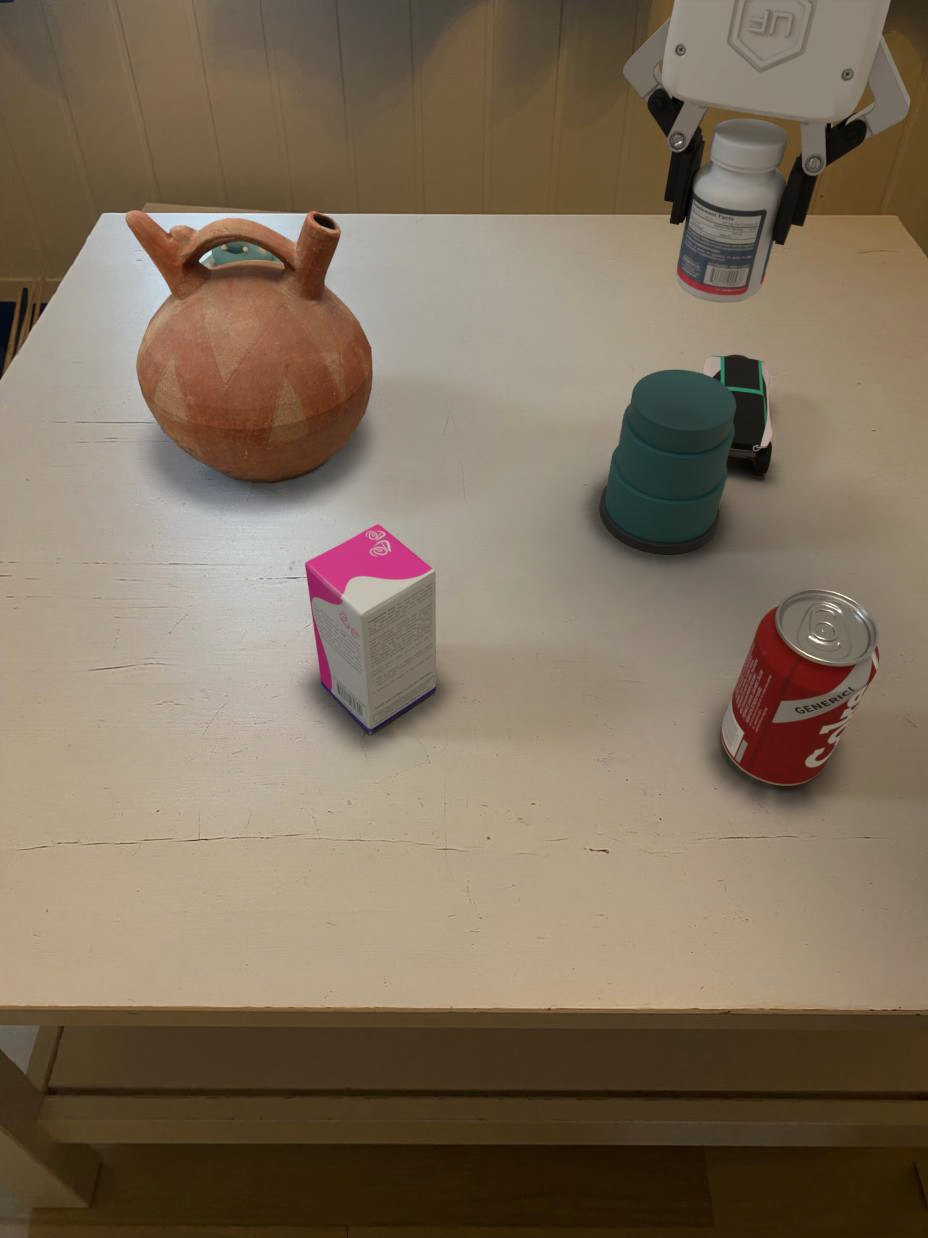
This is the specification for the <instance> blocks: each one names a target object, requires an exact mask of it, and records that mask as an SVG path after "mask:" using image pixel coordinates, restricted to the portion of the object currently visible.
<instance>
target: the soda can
mask: <svg viewBox="0 0 928 1238" xmlns="http://www.w3.org/2000/svg"><path fill="white" fill-rule="evenodd" d="M879 637H880V635H879V628H878V625H877V623H876V621H875V619H874V617H873V616H872V614H870V612H869V611H868V610H867V609H866V608H865V607H864V606H863V605H862V604H860V603H859V602H858V601H856V600H854V599H853V598H852V597H849V596H847V595H845V594H843V593H840V592H837V591H834V590H830V589H827V588H826V589H824V588H804V589H800V590H796V591H794V592H792V593H789V594H787V595H786V596H785V597H784V598H783V599H782V600H781V601H780V603H779V604H778V605H777V606H775V607H774V608H772V609H770V610H769V611H768V612H767V613H766V614H765V615H764V616H763V617H762V619H760V621H759V624H758V625H757V628H756V632H755V634H754V637H753V639H752V642H751V643H750V647H749V650H748V652H747V655H746V658H745V661H744V663H743V665H742V669H741V672H740V674H739V677H738V679H737V682H736V685H735V687H734V690H733V693H732V695H731V697H730V700H729V703H728V706H727V708H726V711H725V714H724V716H723V719H722V721H721V726H720V738H721V742H722V745H723V748H724V750H725V752H726V754H727V755H728V757H729V759H730V760H731V762H733V764H734V765H736V767H737V768H738V769H740V770H741V771H742V772H743V773H745V774H746V775H748V776H750V777H751V778H754V779H755V780H758V781H761V782H763V783H765V784H769V785H774V786H781V787H789V786H791V787H792V786H798V785H803V784H805V783H808V782H810V781H812V780H813V779H815V778H816V777H818V775H820V774H821V773H822V771H823V770H824V769H825V768H826V765H827V763H828V761H829V760H830V758H831V756H832V754H833V753H834V751H835V749H836V747H837V745H838V743H839V741H840V739H841V738H842V736H843V734H844V732H845V730H846V729H847V726H848V725H849V723H850V721H851V720H852V718H853V717H854V715H855V712H856V711H857V708H858V707H859V705H860V704H861V701H862V699H863V698H864V696H865V694H866V692H867V691H868V689H869V687H870V685H871V683H872V681H873V679H874V677H875V676H876V674H877V672H878V668H879V666H880V651H879V648H878V647H879V646H878V643H879Z"/></svg>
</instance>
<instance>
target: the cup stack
mask: <svg viewBox="0 0 928 1238" xmlns="http://www.w3.org/2000/svg"><path fill="white" fill-rule="evenodd" d="M702 373H703V372H698V371H694V370H689V369H676V368H675V369H666V370H665V369H663V370H659V371H655V372H651V373H649V374H647V375H645V376H643V377H641V378H640V379H639V380H638V381H637V382H636V384H635V385H634V387H633V389H632V392H631V397H630V403H629V404H628V405H627V407H626V408H625V409H624V412H623V415H622V421H621V427H620V433H619V440H618V445H617V446H616V447H615V449H614V450H613V452H612V454H611V459H610V465H609V469H608V470H609V471H608V476H607V483H606V485H605V487H604V489H603V490H602V493H601V496H600V503H599V514H600V518H601V520H602V523H603V524H604V526H605V527H606V529H607V530H608V531H609V533H610V534H612V535H613V536H614V537H615V539H618V540H619V541H620V542H622V543H623V544H626V545H627V546H629V547H632V548H633V549H636V550H639V551H643V552H647V553H651V554H658V555H675V554H683V553H687V552H690V551H691V552H692V551H693V550H697V549H698V548H700V547H702V546H703V545H705V544H706V543H707V542H708V541H709V540H710V539H711V538H712V537H713V536H714V534H715V533H716V531H717V527H718V524H719V520H720V518H721V517H720V516H721V509H720V504H721V500H722V497H723V493H724V490H725V486H726V482H727V478H728V469H727V462H728V458H729V456H728V455H729V451H730V448H731V444H732V440H733V437H734V429H735V428H734V424H733V418H734V415H735V411H736V401H735V398H734V396H733V394H732V392H731V391H730V390H729V389H728V388H727V387H726V386H725V385H724V384H722V383H721V382H719V381H718V380H716V379H714V378H712V377H710V376H708V375H705V374H702Z"/></svg>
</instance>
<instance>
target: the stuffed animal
mask: <svg viewBox="0 0 928 1238" xmlns="http://www.w3.org/2000/svg"><path fill="white" fill-rule="evenodd" d="M210 252H211V254H210V255H209V256H208V257H206V258H205V259H204V260H203V261H201V262H200V263H202V264H203V265H204V266H206V267H207V268H209V269H211V268H213V267H216V266H219V265H223V264H227V263H231V262H236V261H243V260H267V261H275V262H280V263H282V262H281V261H280V260H279V259H278V258H276V257H275V256H274V255H272V254H271V253H270V252H268V251H266V250H264V249H263V248H261V247H259V246H256V245H253V244H251V243H248V242H230V243H227V244H224V245H221V246H219V247H216V248H214V249H212V250H211V251H210Z"/></svg>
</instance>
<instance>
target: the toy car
mask: <svg viewBox="0 0 928 1238" xmlns="http://www.w3.org/2000/svg"><path fill="white" fill-rule="evenodd" d="M703 366H704V367H703V369H702V372H701V373H702V374H705V375H708V376H710V377H712V378H714V379H716V380H718V381H719V382H721V383H722V384H724V385H725V386H726V387H727V388H728V389H729V390H730V391H731V392H732V394H733V396H734V398H735V401H736V411H735V415H734V418H733V424H734V428H735V429H734V437H733V440H732V444H731V448H730V451H729V455H728V457H730V458H731V457H732V458H741V459H747V460H750V461H752V467H751V470H752V473H753V474H755V475H766V474H767V472H768V470H769V468H770V465H771V460H772V454H773V443H772V441H771V440H772V438H773V433H774V431H773V427H772V423H771V412H770V401H769V399H770V398H769V389H770V375H769V370H768V367H767V364H766V362H765V361H763V360H761V359H756V358H749V357H747V356H745V355H742V354H729V355H710V356H709V357H707V359H706V360H705V362H704V365H703Z"/></svg>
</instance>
